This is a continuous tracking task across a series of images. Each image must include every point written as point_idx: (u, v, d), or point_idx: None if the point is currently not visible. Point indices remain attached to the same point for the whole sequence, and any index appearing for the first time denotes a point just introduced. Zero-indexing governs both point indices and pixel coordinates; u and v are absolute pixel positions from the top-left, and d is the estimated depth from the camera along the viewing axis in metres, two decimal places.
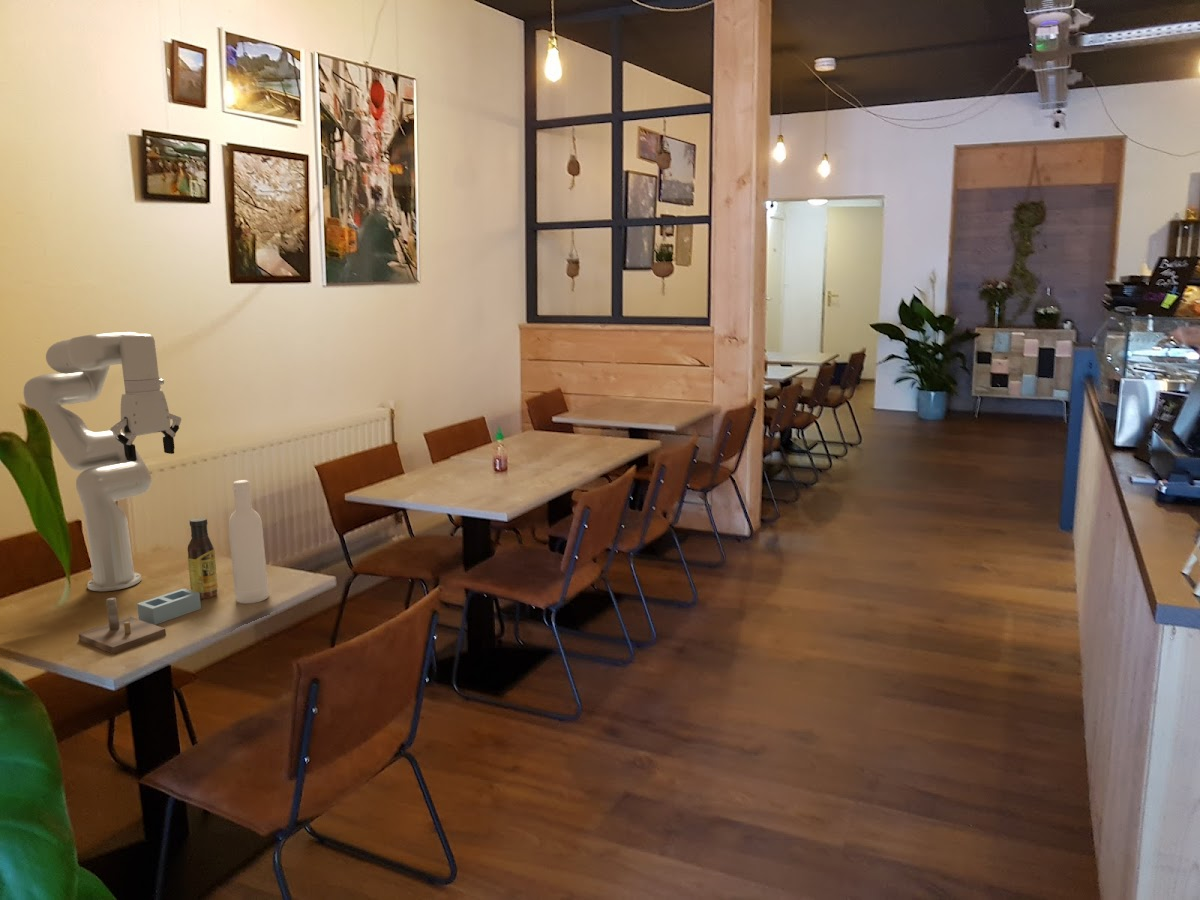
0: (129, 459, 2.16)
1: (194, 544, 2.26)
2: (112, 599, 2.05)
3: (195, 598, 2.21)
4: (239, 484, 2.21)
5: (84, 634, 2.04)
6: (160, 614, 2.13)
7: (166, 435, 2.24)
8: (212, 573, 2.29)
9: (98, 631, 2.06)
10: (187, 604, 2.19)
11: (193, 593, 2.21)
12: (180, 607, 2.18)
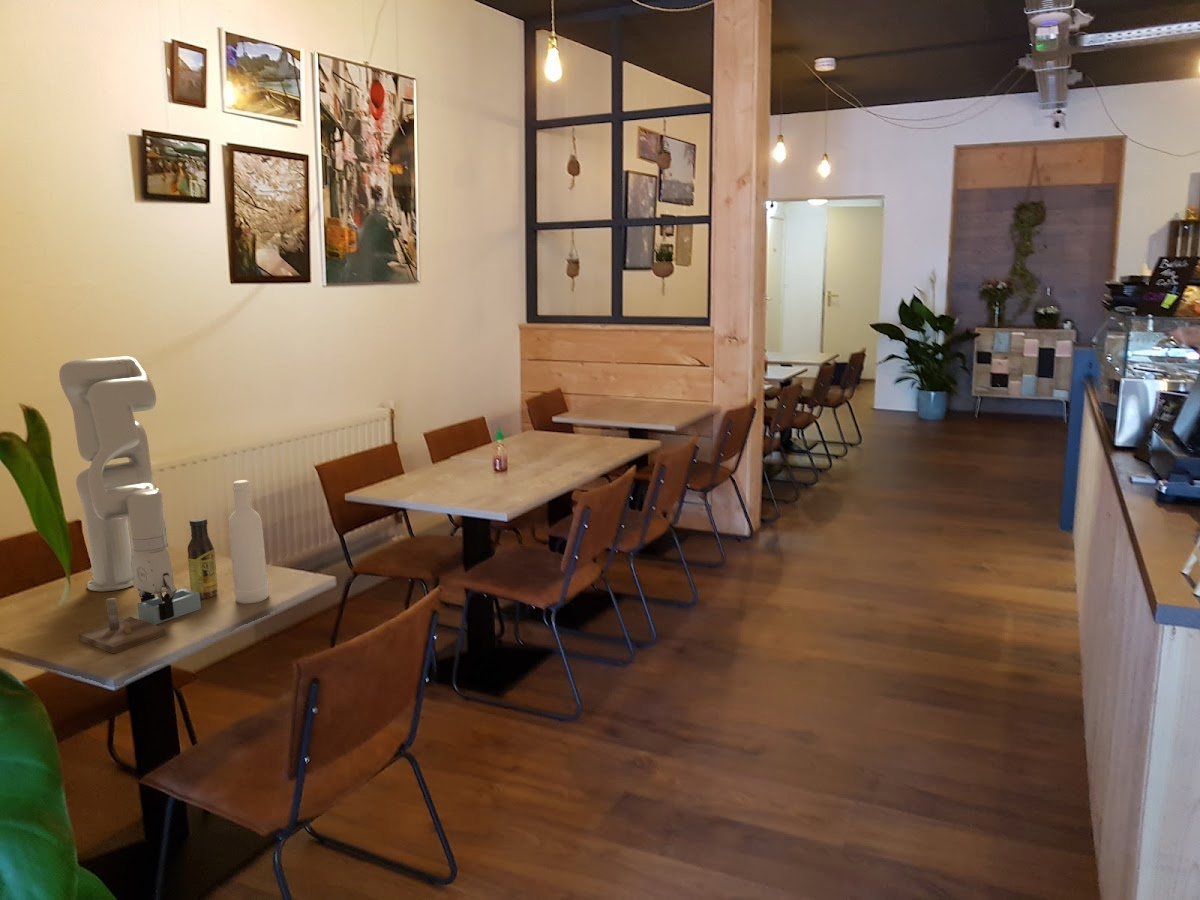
0: (166, 617, 2.14)
1: (194, 544, 2.26)
2: (112, 599, 2.05)
3: (195, 598, 2.21)
4: (239, 484, 2.21)
5: (84, 634, 2.04)
6: None
7: (147, 594, 2.17)
8: (212, 573, 2.29)
9: (98, 631, 2.06)
10: (187, 604, 2.19)
11: (193, 593, 2.21)
12: (180, 607, 2.18)
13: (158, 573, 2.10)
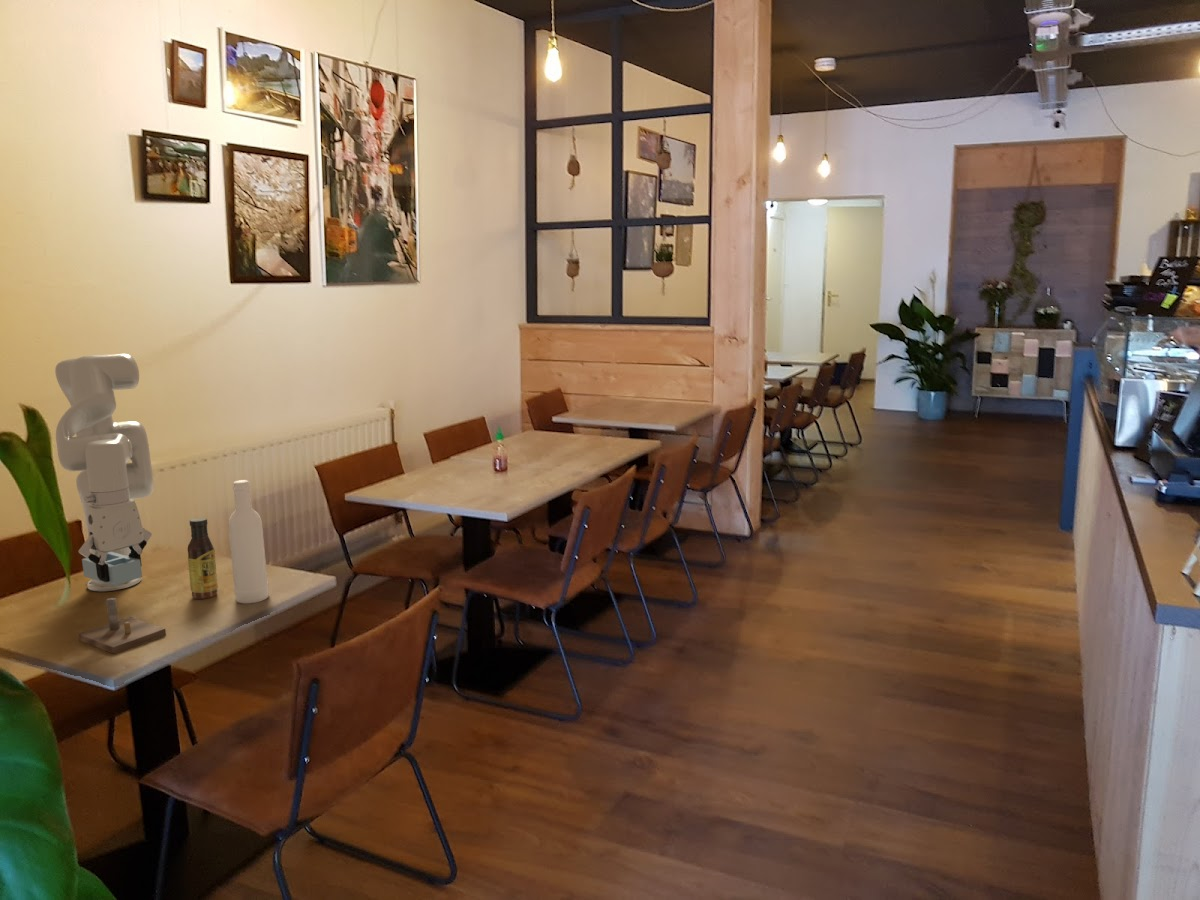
0: None
1: (194, 544, 2.26)
2: (112, 599, 2.05)
3: None
4: (239, 484, 2.21)
5: (84, 634, 2.04)
6: None
7: None
8: (212, 573, 2.29)
9: (98, 631, 2.06)
10: None
11: None
12: None
13: None
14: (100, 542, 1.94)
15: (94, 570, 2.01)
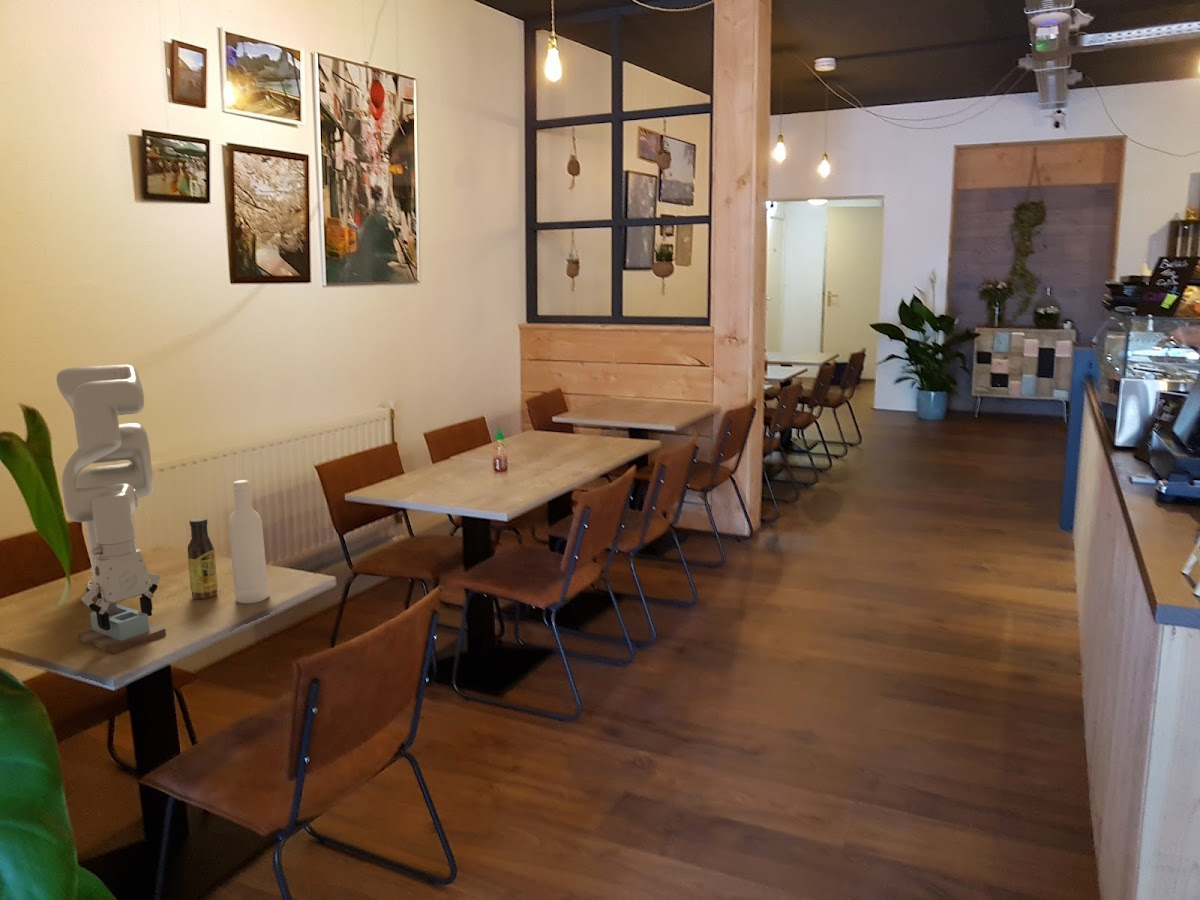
0: None
1: (194, 544, 2.26)
2: None
3: None
4: (239, 484, 2.21)
5: (84, 634, 2.04)
6: None
7: None
8: (212, 573, 2.29)
9: None
10: None
11: None
12: None
13: None
14: (107, 593, 1.96)
15: None
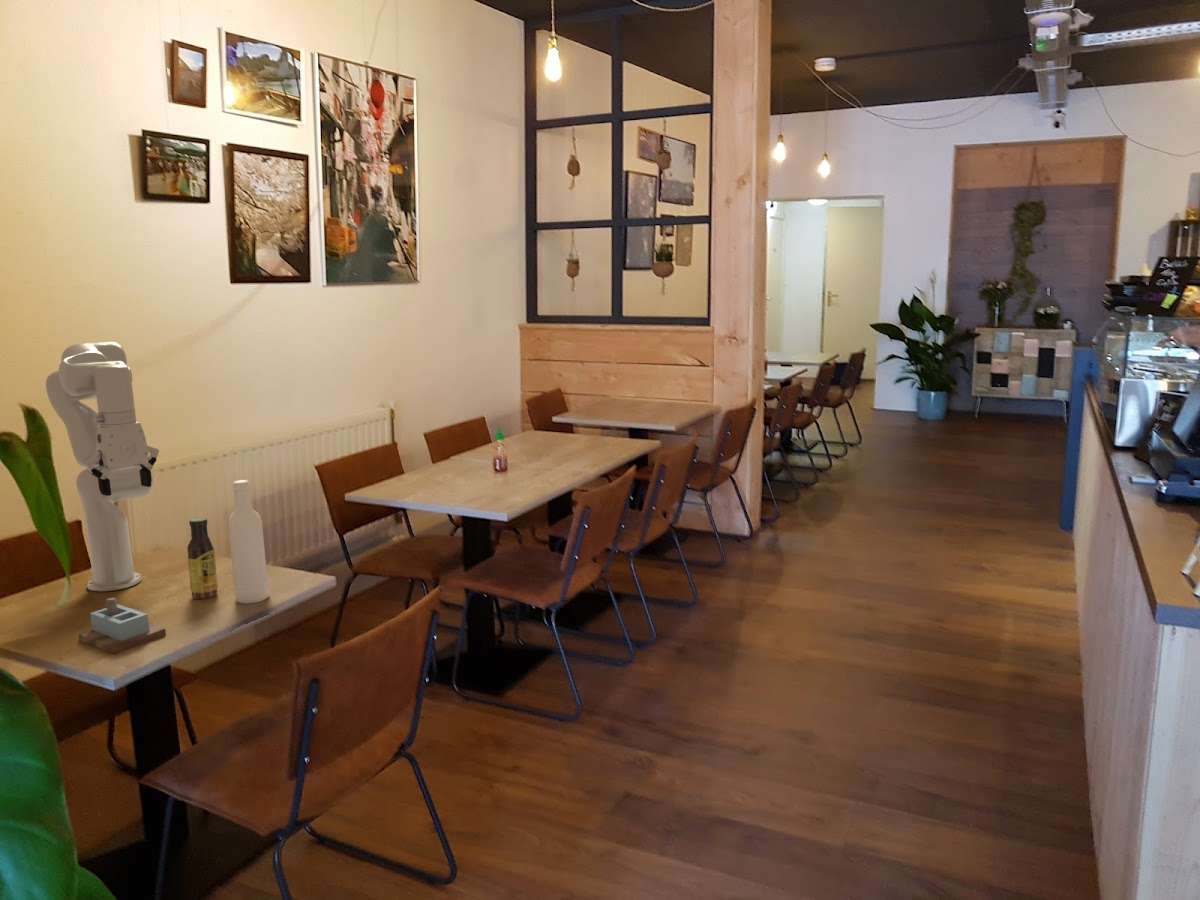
0: None
1: (194, 544, 2.26)
2: (112, 599, 2.05)
3: None
4: (239, 484, 2.21)
5: (84, 634, 2.04)
6: None
7: None
8: (212, 573, 2.29)
9: None
10: None
11: None
12: None
13: None
14: (108, 459, 2.07)
15: (102, 624, 2.03)
